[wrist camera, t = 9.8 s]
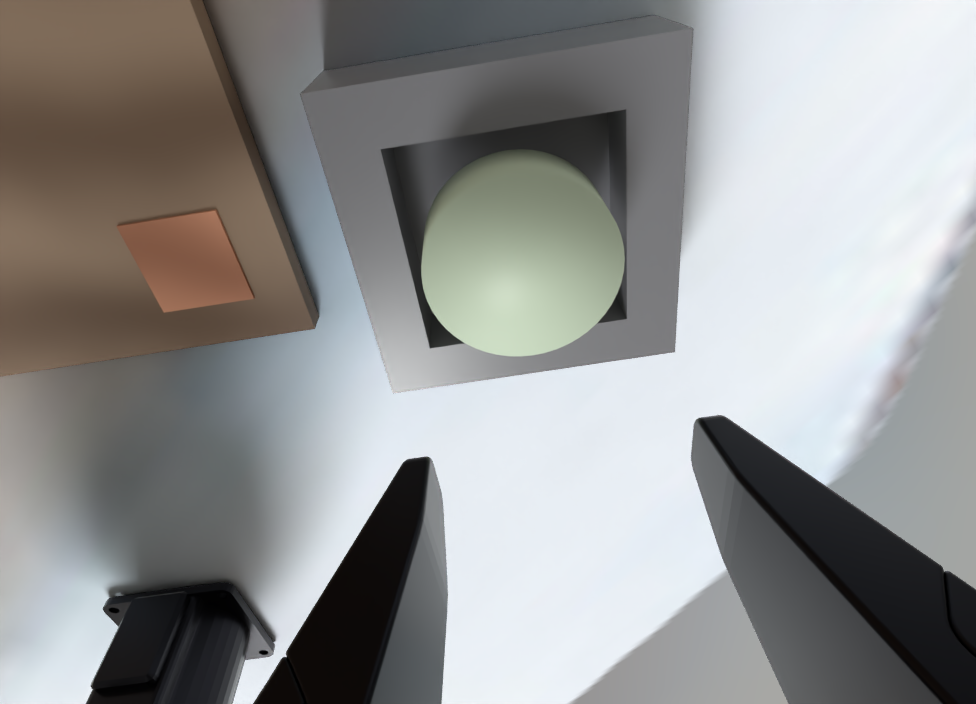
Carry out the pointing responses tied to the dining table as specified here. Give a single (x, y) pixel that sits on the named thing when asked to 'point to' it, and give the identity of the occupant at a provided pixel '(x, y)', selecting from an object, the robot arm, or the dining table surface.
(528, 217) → the button
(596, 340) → the button housing
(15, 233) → the colouring board
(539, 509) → the dining table surface
